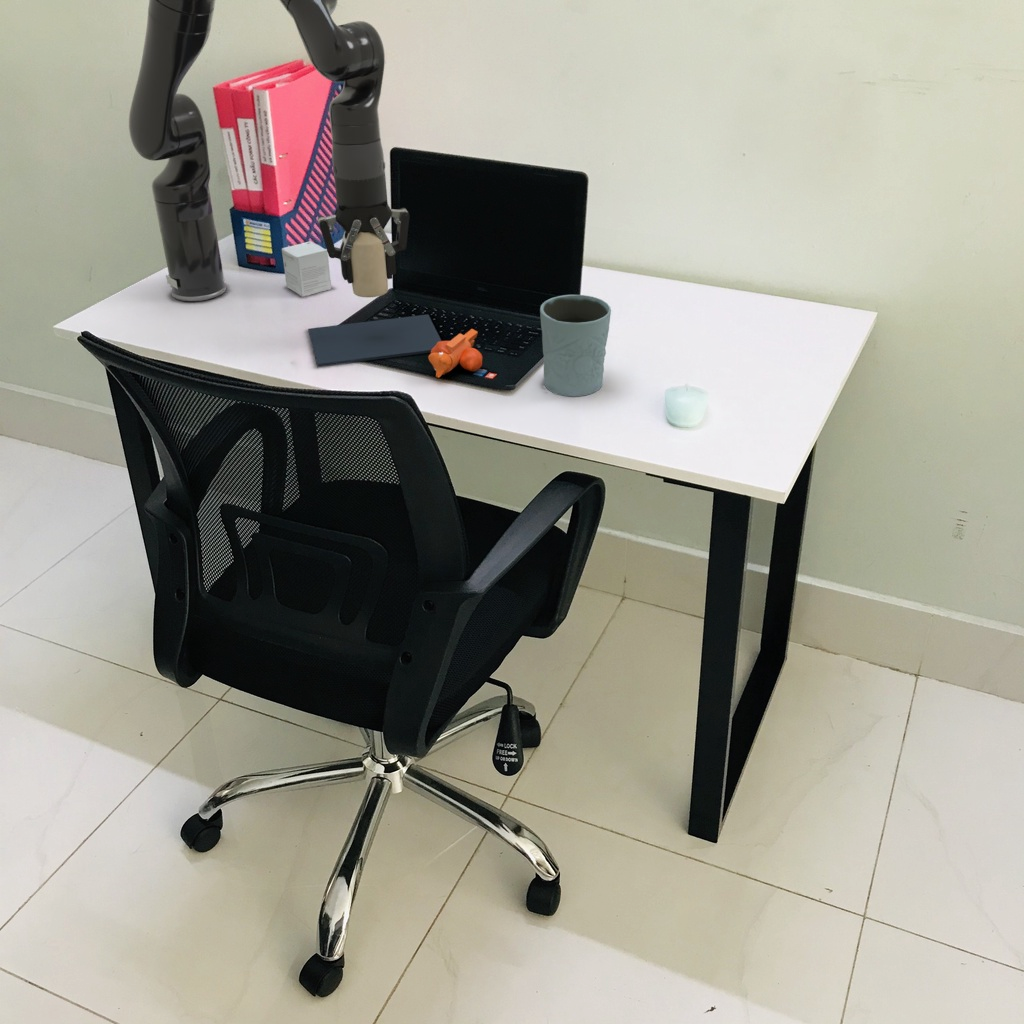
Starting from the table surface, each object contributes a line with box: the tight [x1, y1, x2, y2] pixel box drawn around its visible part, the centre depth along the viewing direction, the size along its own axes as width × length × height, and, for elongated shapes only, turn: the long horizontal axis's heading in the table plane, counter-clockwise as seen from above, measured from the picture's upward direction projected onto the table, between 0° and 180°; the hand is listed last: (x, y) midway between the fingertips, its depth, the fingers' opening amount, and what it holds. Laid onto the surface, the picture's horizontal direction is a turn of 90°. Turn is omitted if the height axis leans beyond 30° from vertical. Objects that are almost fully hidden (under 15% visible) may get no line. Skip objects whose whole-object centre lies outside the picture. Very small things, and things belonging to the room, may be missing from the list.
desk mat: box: [307, 314, 442, 368], centre depth 179 cm, size 14×20×1 cm
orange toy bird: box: [427, 328, 483, 378], centre depth 169 cm, size 5×8×12 cm
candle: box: [349, 232, 389, 298], centre depth 172 cm, size 6×6×10 cm
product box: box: [281, 240, 332, 298], centre depth 197 cm, size 6×6×7 cm
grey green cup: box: [539, 294, 612, 397], centre depth 162 cm, size 10×10×12 cm
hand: (369, 279), depth 174 cm, fingers closed on candle, 5 cm apart
